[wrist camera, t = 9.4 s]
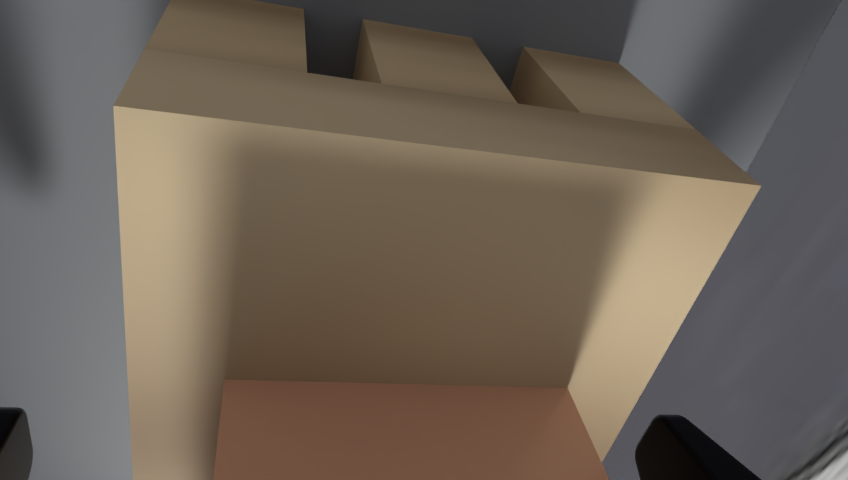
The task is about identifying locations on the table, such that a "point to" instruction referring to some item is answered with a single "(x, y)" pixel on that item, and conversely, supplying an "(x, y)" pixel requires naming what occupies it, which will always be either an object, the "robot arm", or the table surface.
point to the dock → (326, 55)
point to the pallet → (397, 222)
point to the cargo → (400, 433)
